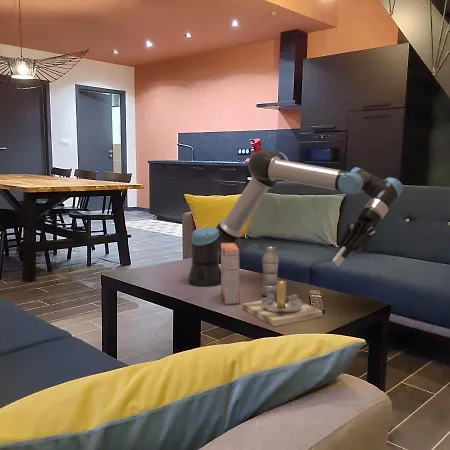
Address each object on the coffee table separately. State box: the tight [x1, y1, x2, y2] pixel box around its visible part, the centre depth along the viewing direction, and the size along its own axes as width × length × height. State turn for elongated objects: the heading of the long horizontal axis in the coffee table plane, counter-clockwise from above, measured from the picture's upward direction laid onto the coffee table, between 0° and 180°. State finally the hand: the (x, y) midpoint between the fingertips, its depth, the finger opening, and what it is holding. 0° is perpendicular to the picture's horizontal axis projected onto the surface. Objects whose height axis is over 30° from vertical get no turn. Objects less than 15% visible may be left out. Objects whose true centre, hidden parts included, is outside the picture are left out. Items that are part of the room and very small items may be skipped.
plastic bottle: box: [261, 244, 280, 297], centre depth 185 cm, size 6×7×20 cm
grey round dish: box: [261, 280, 303, 313], centre depth 164 cm, size 16×14×11 cm
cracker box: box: [220, 243, 240, 305], centre depth 181 cm, size 14×6×21 cm, turn 6°
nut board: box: [242, 300, 324, 327], centre depth 166 cm, size 20×20×2 cm
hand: (335, 263), depth 166 cm, fingers closed
